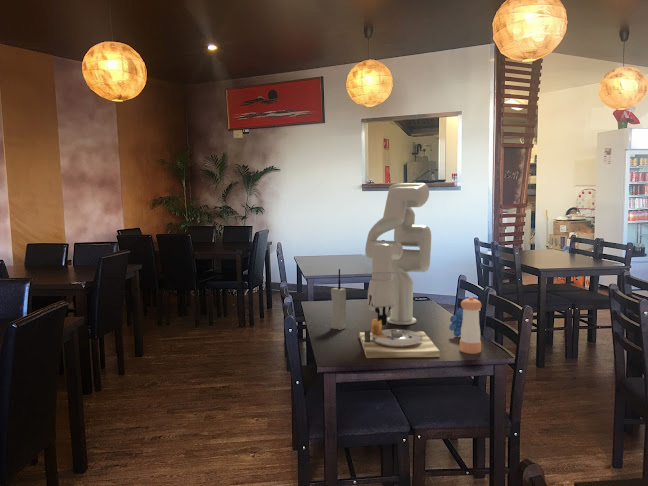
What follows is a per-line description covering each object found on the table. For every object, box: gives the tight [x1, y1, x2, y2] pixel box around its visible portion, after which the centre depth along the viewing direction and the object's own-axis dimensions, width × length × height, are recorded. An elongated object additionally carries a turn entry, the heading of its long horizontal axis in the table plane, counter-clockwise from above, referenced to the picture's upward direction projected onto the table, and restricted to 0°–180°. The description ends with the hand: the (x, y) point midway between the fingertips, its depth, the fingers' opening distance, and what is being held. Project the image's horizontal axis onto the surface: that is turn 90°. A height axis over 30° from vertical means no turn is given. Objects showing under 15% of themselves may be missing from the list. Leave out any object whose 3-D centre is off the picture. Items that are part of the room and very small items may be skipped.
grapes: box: [448, 308, 480, 337], centre depth 196 cm, size 12×7×12 cm, turn 90°
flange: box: [371, 318, 422, 347], centre depth 183 cm, size 18×18×6 cm
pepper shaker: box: [459, 296, 483, 355], centre depth 178 cm, size 7×7×19 cm
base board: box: [359, 329, 441, 359], centre depth 184 cm, size 25×25×6 cm
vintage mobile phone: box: [330, 268, 347, 331], centre depth 208 cm, size 4×5×25 cm
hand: (382, 324), depth 190 cm, fingers closed
